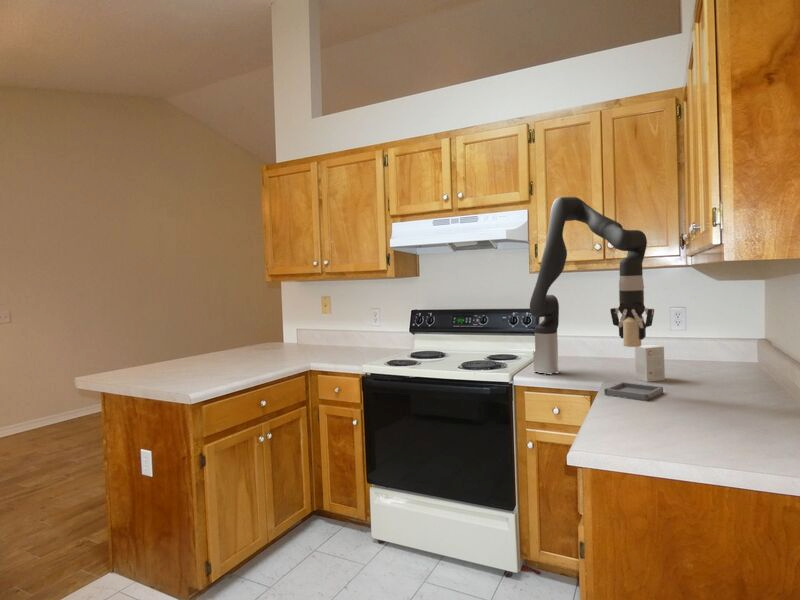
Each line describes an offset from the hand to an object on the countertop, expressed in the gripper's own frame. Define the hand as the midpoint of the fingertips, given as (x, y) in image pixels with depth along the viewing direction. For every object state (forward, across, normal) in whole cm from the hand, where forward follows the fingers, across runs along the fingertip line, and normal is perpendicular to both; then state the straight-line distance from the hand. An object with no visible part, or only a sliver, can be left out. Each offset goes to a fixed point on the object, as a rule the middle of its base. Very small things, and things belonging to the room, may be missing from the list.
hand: (632, 338), depth 165 cm
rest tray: (+19, 0, 0) cm, 19 cm away
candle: (+3, 0, 0) cm, 3 cm away
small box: (+19, -4, +26) cm, 33 cm away
